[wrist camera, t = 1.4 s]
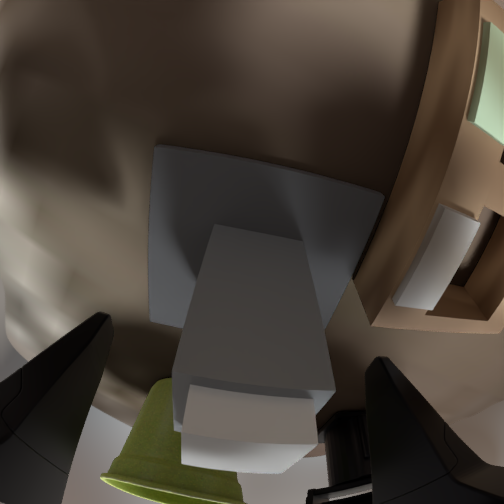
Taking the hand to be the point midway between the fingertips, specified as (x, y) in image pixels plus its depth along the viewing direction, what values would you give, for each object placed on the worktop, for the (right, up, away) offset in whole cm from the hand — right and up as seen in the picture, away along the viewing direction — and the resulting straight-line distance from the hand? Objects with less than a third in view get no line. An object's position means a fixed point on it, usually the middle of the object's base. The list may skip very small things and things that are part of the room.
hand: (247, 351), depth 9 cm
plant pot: (-4, -8, +11) cm, 14 cm away
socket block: (+11, +7, +1) cm, 13 cm away
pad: (0, +3, +4) cm, 5 cm away
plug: (0, +2, +4) cm, 4 cm away
